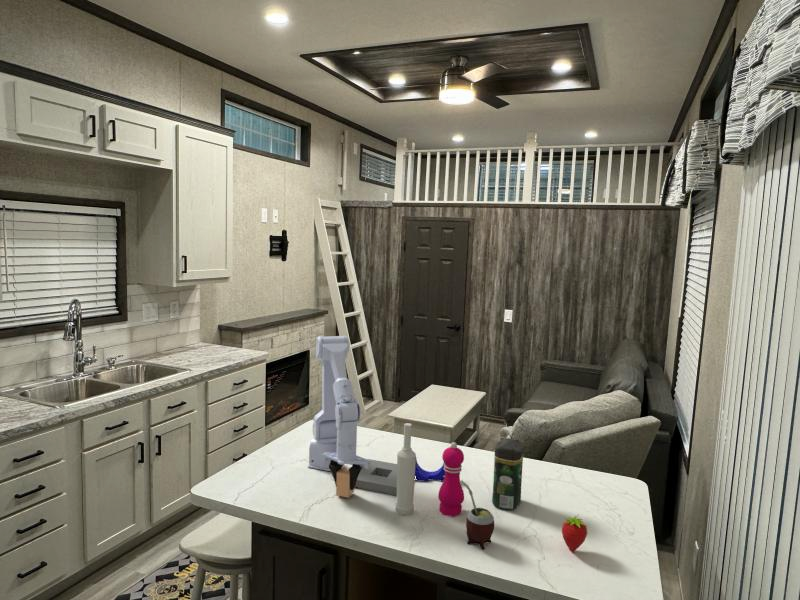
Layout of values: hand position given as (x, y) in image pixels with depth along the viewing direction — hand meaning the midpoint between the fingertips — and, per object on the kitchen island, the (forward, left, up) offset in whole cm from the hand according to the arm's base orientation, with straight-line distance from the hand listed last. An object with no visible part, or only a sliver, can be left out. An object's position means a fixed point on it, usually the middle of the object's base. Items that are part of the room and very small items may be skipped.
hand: (345, 487), depth 159 cm
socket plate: (+6, +14, -2) cm, 15 cm away
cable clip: (+20, +21, -3) cm, 29 cm away
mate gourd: (+41, -10, -3) cm, 42 cm away
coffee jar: (+45, +14, -3) cm, 47 cm away
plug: (0, 0, -2) cm, 2 cm away
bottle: (+19, -2, -3) cm, 19 cm away
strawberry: (+64, -5, -3) cm, 64 cm away
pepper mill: (+31, +3, -3) cm, 31 cm away
